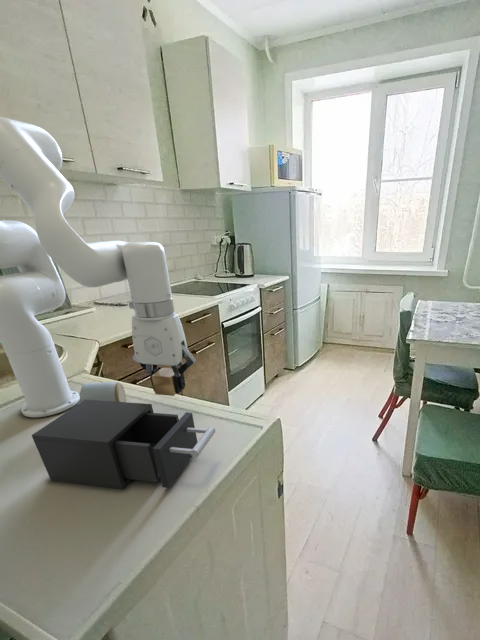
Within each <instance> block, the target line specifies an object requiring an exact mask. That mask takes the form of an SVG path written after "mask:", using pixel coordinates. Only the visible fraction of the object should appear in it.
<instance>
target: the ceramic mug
mask: <svg viewBox="0 0 480 640" xmlns="http://www.w3.org/2000/svg"><path fill="white" fill-rule="evenodd" d="M79 396H80V400H79V403H81V402H82V401H84V400H99V401H114V402H126V401H127V400H126V399H127V397H126V392H125V387H124V386H123V384H122V383H121V382H117V381H109V382H108V381H107V382H86V383H83V384H82V385H81V387H80V390H79Z"/></svg>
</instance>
